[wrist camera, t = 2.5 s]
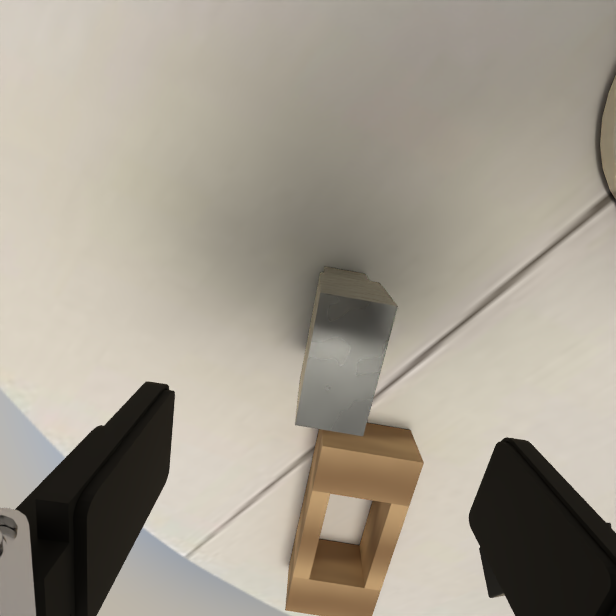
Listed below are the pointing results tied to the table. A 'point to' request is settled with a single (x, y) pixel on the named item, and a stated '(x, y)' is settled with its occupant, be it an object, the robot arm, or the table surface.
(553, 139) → the table surface
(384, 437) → the slotted wooden block
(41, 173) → the table surface
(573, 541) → the robot arm
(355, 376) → the clip
